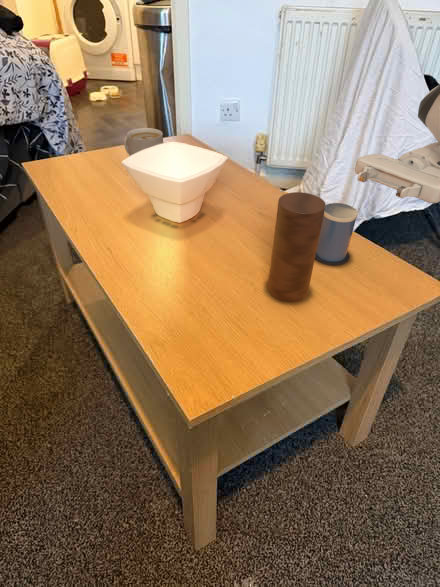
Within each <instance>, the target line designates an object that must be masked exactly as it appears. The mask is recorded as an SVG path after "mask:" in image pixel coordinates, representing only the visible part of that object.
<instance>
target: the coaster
mask: <svg viewBox="0 0 440 587" xmlns="http://www.w3.org/2000/svg"><path fill="white" fill-rule="evenodd" d="M349 260H350V254H349V251H347V255H346V258H345V259H343V260H341V261H337V262H331V261H326V260H323V259H321V258H319V257H318V256H317V255H316V256H315V260H314V261H317V263H320V264H323V265H326V266H332V267H333V266H342V265H344V264H347V263H348V261H349Z"/></svg>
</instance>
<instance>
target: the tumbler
mask: <svg viewBox="0 0 440 587" xmlns="http://www.w3.org/2000/svg"><path fill="white" fill-rule="evenodd" d="M358 213H359V212H358V210H357V209H356V208H355V207H354V206H352V205H349V204H347V203H342V202H331V203H330V202H329V203H327V204H326V207H325V212H324V217H323V221H322V226H321V231H320V236H319V241H318V246H317V251H316V255H317V256H318V257H319V258H321V259H323V260H326V261H331V262H337V261H341V260H343V259H345V258H346V255H347V252H349V251H348V250H349V248H350V243H351V240H352V236H353V232H354V229H355V225H356V224H355V223H356V220H357V218H358Z"/></svg>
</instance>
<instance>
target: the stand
mask: <svg viewBox="0 0 440 587" xmlns="http://www.w3.org/2000/svg"><path fill="white" fill-rule="evenodd" d="M326 205H327V204H326V202H325V201H324V199H322V198H321V197H320V196H318V195H315V194H312V193H308V192H301V191H296V192H295V191H294V192H288V193H285V194H282V195H280V197H278V201H277V210H276V218H275V223H274V224H275V226H274V232H273V241H272V247H271V248H272V250H271V256H270V264H269V274H268V281H267V291H268V293H269V294H270V295H271V296H272V297H273V298H275V299H276V300H278V301H281V302H287V303H296V302H301V301H302V300H304V299H305V298H306V297H307V296H308V294H309V289H310V284H311V280H312V274H313V270H314V266H315V261H316V260H315V256H316V251H317V246H318V241H319V236H320V231H321V226H322V221H323V217H324V212H325V207H326Z"/></svg>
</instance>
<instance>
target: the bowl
mask: <svg viewBox="0 0 440 587" xmlns="http://www.w3.org/2000/svg"><path fill="white" fill-rule="evenodd" d="M228 160H229V158H228V157H227V156H226V155H225V154H221V153H219V152H217V151H214V150H210V149H207V148H204V147H200V146H196V145H191V144H189V143H185V142H179V141H173V140H172V141H167V142H163V143H162V144H158V145H155V146H152V147H149V148H146V149H144V150H142V151H139V152H137V153H135V154H133V155H131V156H129V155H128V156H127V157H126V158H125V159H123V160H122V161H121V165H122V167H123V168H124V169H125V171H126V172H127V173H128V175H129V176H130V178H132V179H133V181H134V182H135V184H136V185H137V186H138V187H139V189H140V190H141V191H142V192H143V193H145V194H147V196H148V198H149V200H150V203H151V205H152V207H153V209H154V211H155V214H156V215H157V216H159V217H161V218H163V219H166V220H168V221H171V222H174V223H178V224H181V223H184V222H186V221H189V220H190V219H192V218H194V217H195V216H196V215H198V214H199V212H200V210H201V208H202V205H203V201H204V199H205V196H206V193H207V192H208V191H210V189H212V187H213V185H214V184H215V182H216V180H217V178H218V177H219V175H220V174H221V172H222V170H223V169H224V167H225V165H227V163H228Z"/></svg>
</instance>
